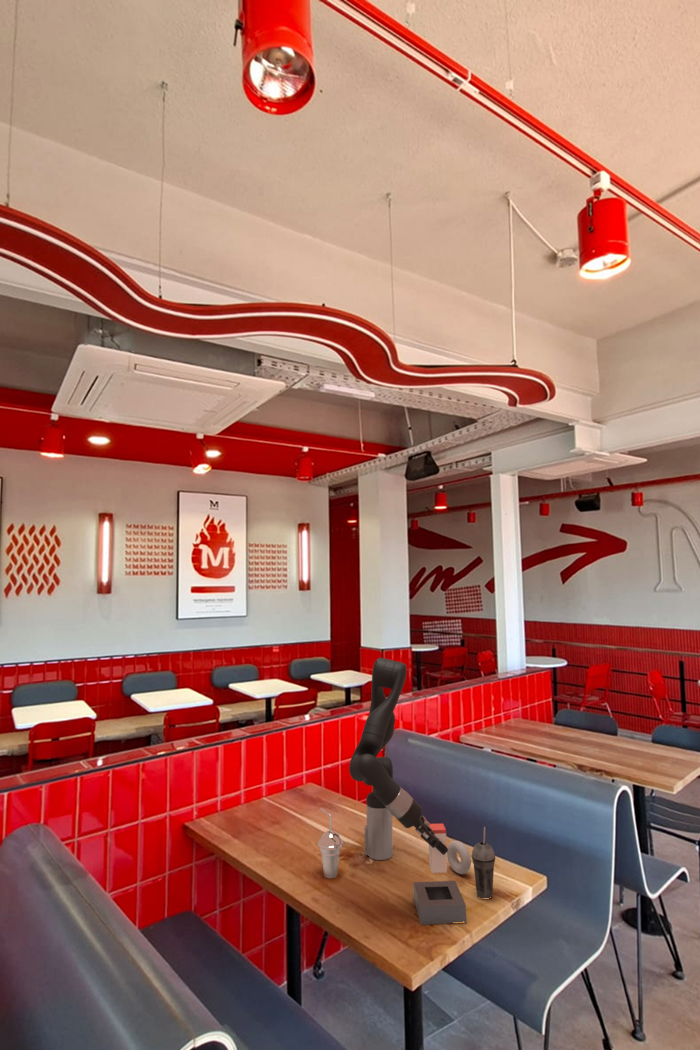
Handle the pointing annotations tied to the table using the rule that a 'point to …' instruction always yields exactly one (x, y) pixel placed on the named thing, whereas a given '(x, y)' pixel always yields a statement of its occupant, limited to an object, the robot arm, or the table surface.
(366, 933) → the table surface
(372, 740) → the robot arm
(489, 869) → the beverage cup
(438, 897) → the square socket housing
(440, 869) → the plug peg
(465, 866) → the donut
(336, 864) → the cup with straw
